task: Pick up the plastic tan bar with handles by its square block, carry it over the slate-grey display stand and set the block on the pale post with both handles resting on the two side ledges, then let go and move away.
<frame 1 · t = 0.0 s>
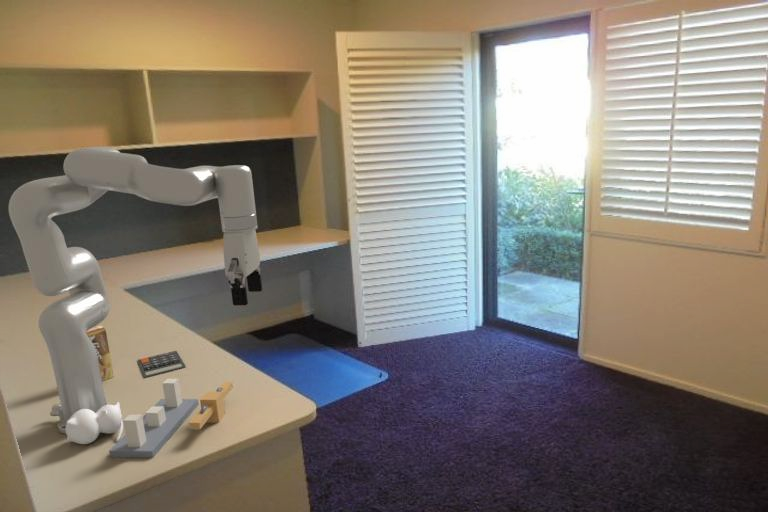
hand: (248, 297, 124), 31 cm above the table, tool pointing down, fingers open, 9 cm apart
cat figurine: (99, 440, 129), on the table
tan bar with handles: (214, 417, 135), on the table
candy box: (96, 381, 160), on the table
calculator: (161, 366, 169), on the table
display stand: (157, 428, 132), on the table
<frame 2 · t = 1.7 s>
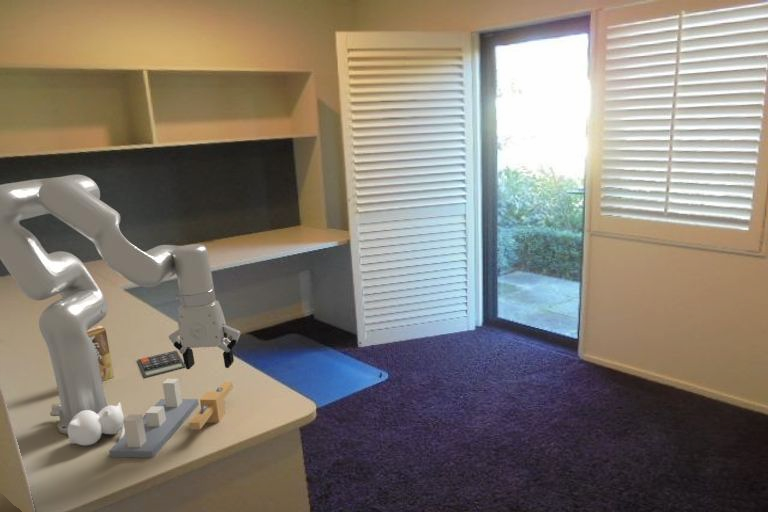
hand: (209, 366, 132), 14 cm above the table, tool pointing down, fingers open, 9 cm apart
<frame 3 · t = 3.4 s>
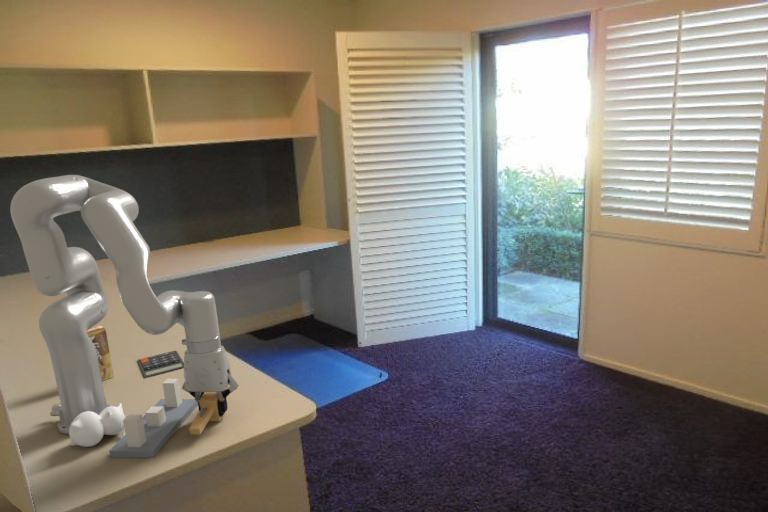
hand: (213, 413, 135), 1 cm above the table, tool pointing down, fingers closed on tan bar with handles, 3 cm apart
tan bar with handles: (214, 415, 136), on the table, tilted 9°, touching gripper
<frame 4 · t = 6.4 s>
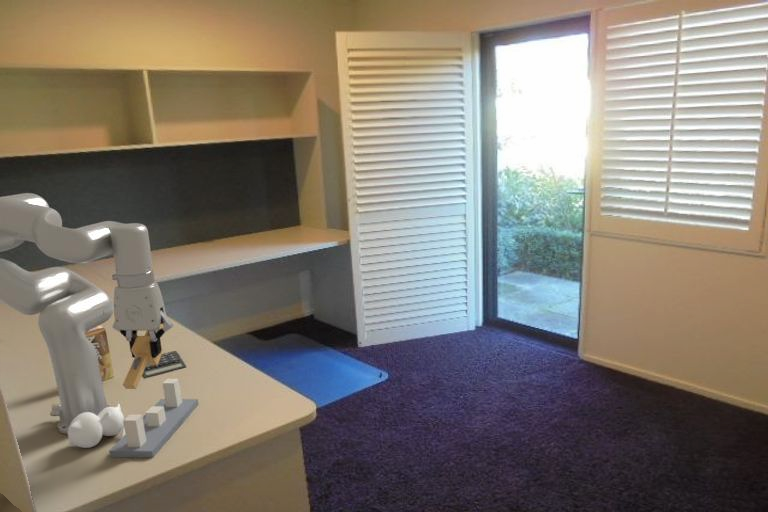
hand: (146, 354, 128), 19 cm above the table, tool pointing down, fingers closed on tan bar with handles, 4 cm apart
tan bar with handles: (152, 357, 130), point 17 cm above the table, tilted 32°, touching gripper
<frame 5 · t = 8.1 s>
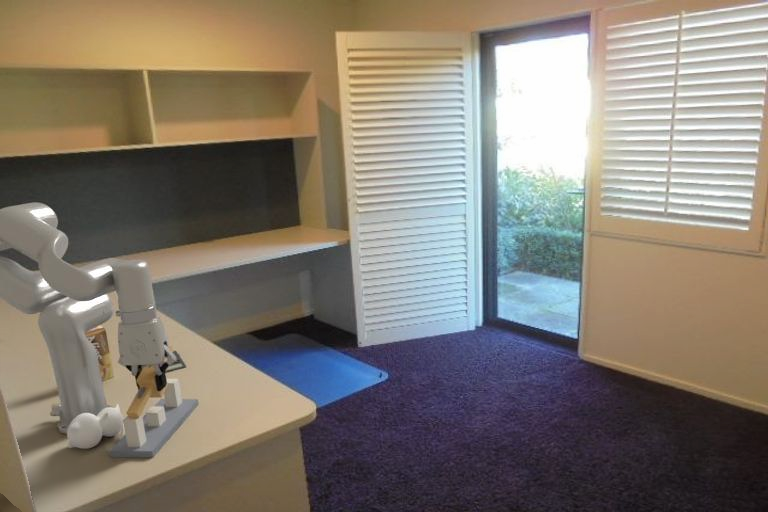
hand: (152, 388, 129), 11 cm above the table, tool pointing down, fingers closed on tan bar with handles, 3 cm apart
tan bar with handles: (157, 390, 131), point 9 cm above the table, tilted 22°, touching gripper
when the fingers open (7 cm above the table, at t = 9.5 s): tan bar with handles stays where it is, resting on display stand.
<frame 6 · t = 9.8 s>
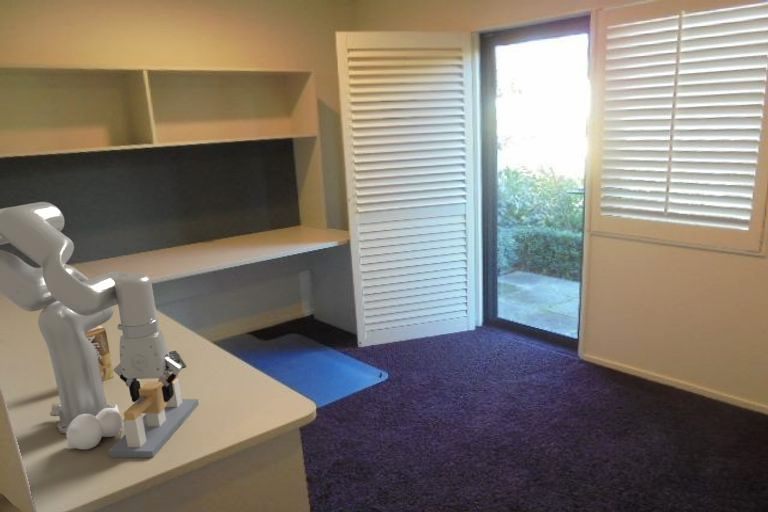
hand: (152, 398, 130), 8 cm above the table, tool pointing down, fingers open, 7 cm apart
tan bar with handles: (155, 408, 131), point 5 cm above the table, touching display stand
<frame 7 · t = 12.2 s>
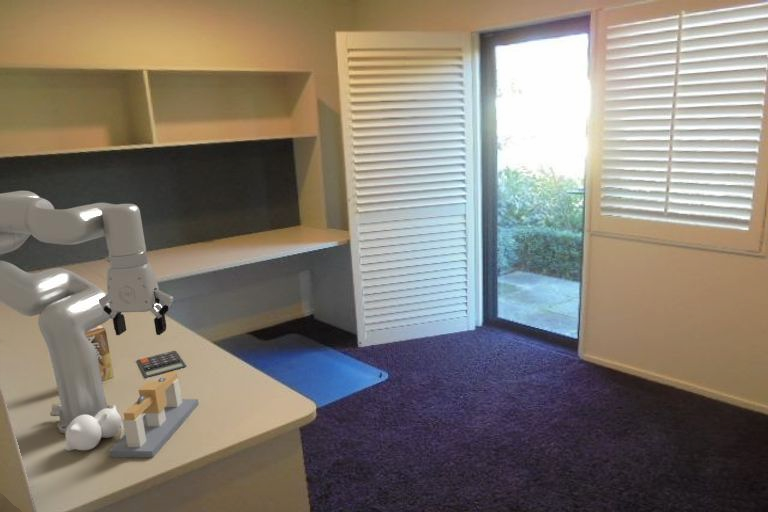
hand: (141, 332, 126), 24 cm above the table, tool pointing down, fingers open, 9 cm apart
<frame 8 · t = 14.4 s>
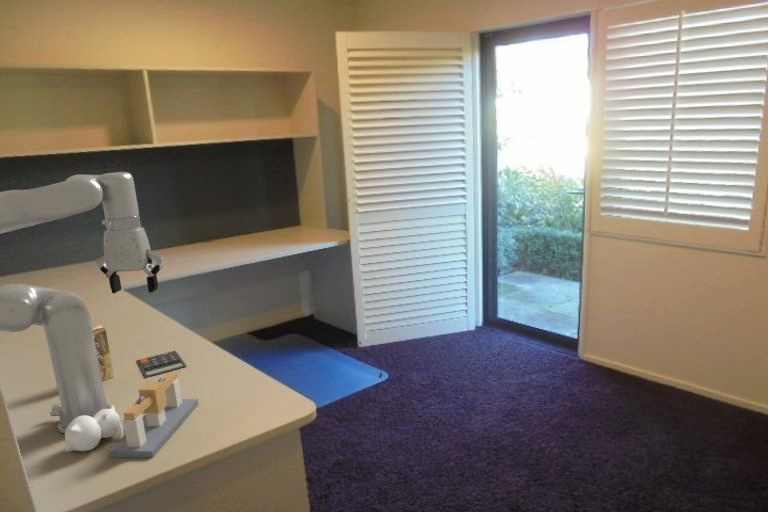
hand: (135, 291, 138), 30 cm above the table, tool pointing down, fingers open, 9 cm apart
at the end: tan bar with handles 0.3 cm off-centre on the display stand, point 5.0 cm above the display stand's base; tan bar with handles tilted 0°; the gripper is holding nothing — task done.
